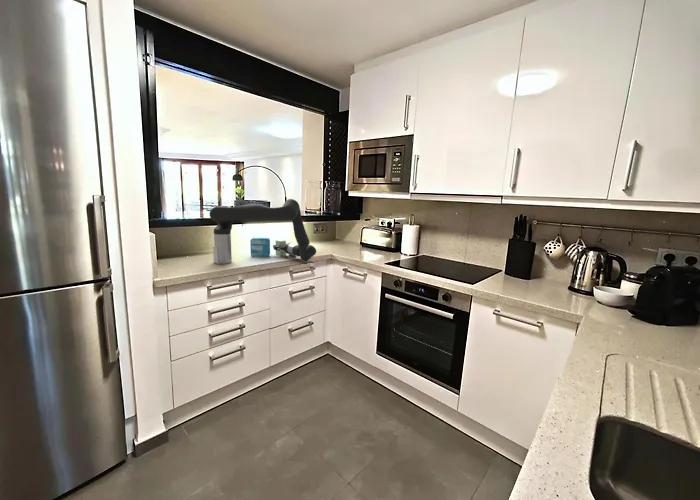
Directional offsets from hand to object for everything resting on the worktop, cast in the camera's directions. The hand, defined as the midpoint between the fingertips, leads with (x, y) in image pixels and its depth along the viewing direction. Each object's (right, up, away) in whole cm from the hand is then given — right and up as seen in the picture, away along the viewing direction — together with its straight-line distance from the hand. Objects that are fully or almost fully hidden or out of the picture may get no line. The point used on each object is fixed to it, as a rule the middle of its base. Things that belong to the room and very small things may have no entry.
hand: (279, 245), depth 214 cm
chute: (+8, -8, -7) cm, 13 cm away
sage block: (+1, -6, 0) cm, 6 cm away
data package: (-11, -7, -7) cm, 15 cm away
